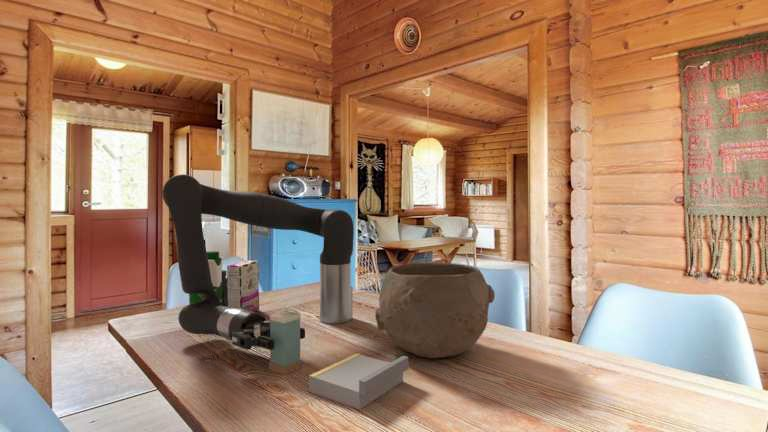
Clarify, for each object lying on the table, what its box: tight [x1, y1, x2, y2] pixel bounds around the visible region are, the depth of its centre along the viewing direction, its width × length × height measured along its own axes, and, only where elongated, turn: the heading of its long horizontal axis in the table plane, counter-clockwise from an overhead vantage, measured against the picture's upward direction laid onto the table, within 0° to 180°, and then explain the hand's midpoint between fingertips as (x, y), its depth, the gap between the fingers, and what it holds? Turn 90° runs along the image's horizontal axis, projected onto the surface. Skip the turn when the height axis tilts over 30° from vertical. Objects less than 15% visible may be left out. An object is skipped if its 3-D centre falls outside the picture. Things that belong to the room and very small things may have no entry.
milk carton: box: [188, 250, 224, 305], centre depth 130 cm, size 9×9×20 cm
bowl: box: [374, 262, 496, 359], centre depth 99 cm, size 27×29×20 cm
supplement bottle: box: [222, 269, 228, 307], centre depth 143 cm, size 7×7×12 cm
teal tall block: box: [268, 310, 303, 375], centre depth 89 cm, size 5×5×12 cm
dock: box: [308, 353, 409, 410], centre depth 80 cm, size 14×13×5 cm
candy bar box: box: [226, 259, 260, 312], centre depth 132 cm, size 11×5×16 cm, turn 168°
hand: (289, 339), depth 88 cm, fingers open, 8 cm apart
